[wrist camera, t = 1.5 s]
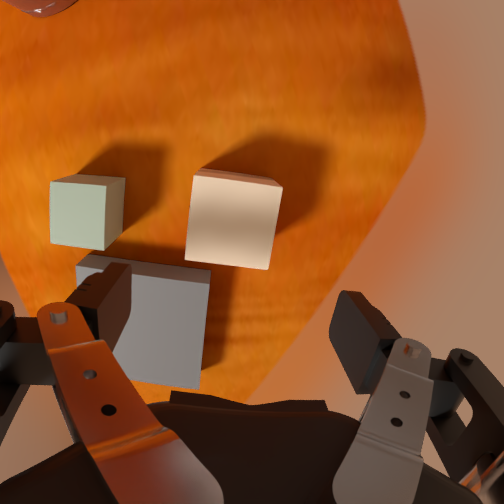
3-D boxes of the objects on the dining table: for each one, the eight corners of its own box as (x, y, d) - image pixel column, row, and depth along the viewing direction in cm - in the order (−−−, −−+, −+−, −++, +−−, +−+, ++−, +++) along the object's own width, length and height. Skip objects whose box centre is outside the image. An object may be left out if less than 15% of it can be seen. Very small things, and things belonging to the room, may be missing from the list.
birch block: (200, 167, 27) (193, 175, 21) (271, 177, 27) (283, 187, 22) (192, 235, 28) (184, 259, 23) (259, 244, 29) (267, 269, 24)
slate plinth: (88, 254, 28) (75, 265, 25) (211, 270, 30) (209, 284, 27) (95, 354, 32) (87, 371, 29) (200, 371, 33) (199, 389, 30)
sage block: (76, 173, 26) (50, 181, 21) (126, 177, 26) (106, 185, 22) (74, 226, 27) (50, 243, 22) (122, 232, 28) (104, 250, 23)
